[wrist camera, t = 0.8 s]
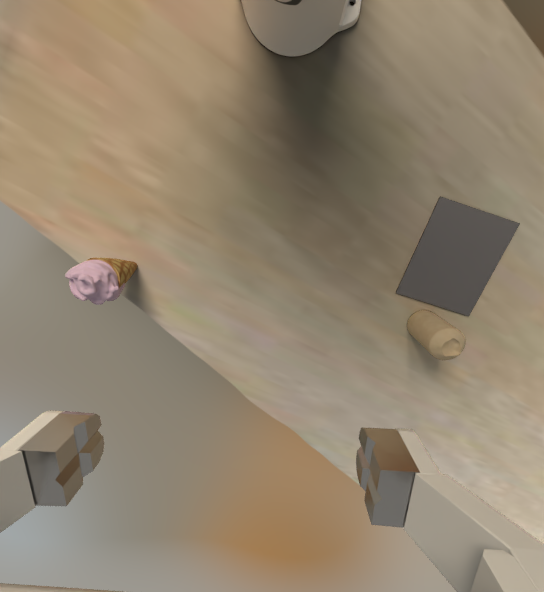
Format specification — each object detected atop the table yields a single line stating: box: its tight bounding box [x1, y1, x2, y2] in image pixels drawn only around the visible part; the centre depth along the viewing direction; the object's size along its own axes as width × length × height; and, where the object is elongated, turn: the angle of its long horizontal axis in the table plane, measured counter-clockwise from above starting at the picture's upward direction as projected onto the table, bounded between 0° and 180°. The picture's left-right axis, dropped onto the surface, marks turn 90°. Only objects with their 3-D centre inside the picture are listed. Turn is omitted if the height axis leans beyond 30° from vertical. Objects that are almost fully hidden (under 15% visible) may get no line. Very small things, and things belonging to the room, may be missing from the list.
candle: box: [407, 310, 466, 360], centre depth 48 cm, size 6×6×10 cm
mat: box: [396, 197, 520, 316], centre depth 49 cm, size 17×14×1 cm
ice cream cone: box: [65, 258, 137, 304], centre depth 45 cm, size 7×6×15 cm
